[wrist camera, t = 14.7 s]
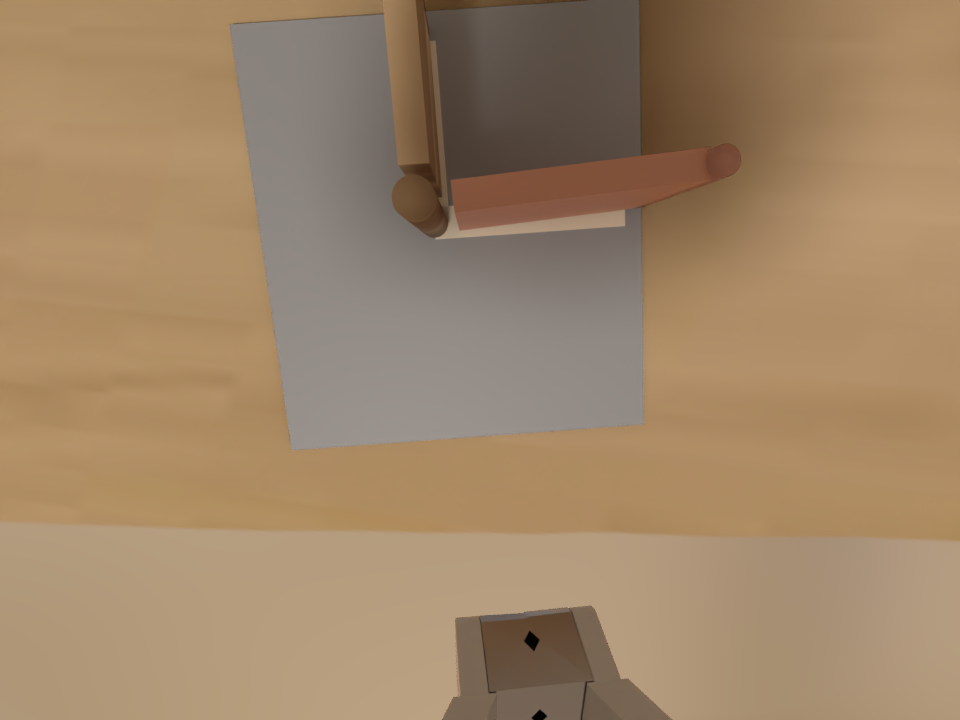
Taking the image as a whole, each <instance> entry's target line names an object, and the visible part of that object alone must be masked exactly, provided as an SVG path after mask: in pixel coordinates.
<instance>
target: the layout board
mask: <svg viewBox="0 0 960 720" xmlns="http://www.w3.org/2000/svg"><path fill="white" fill-rule="evenodd" d="M426 15H427V21H428V27H429V40H430V48H431V60H432V73H433V85H434V98H435V110H436V123H437V135H438V148H439V160H440V173H441V185H442V197H439V198H438V199H439V201H440V204H441V206H442V208H443V210H444V213H445V215H446V217H447V220H448V227H447V230H446V232H445V233H444V234H443V235H442V236H440V237H436V238H432V237H429V236H427V235H426V234H424V233H423V232H422V231H420V230H419V229H418V228H416V227H415V226H414V225H412V224H411V223H410V222H409V221H407V220H406V219H405V218H403V217H402V216H401V215H400V214H399V213H398V212H397V211H396V210H395V208H394V206H393V203H392V191H393V188H394V186H395V184H396V183H397V182H398V180H400V179H401V178H402V177H404V176H405V174H404V173H403V171H402V170H401V169H400V167H399V166H398V159H397V149H396V138H395V128H394V117H393V106H392V96H391V85H390V75H389V64H388V54H387V43H386V33H385V22H384V14H378V15H364V16H349V17H334V18H319V19H304V20H289V21H275V22H260V23H245V24H230V30H231V37H232V44H233V51H234V58H235V65H236V72H237V78H238V85H239V92H240V99H241V106H242V113H243V120H244V126H245V133H246V140H247V147H248V154H249V161H250V168H251V174H252V181H253V188H254V195H255V202H256V209H257V216H258V222H259V229H260V236H261V243H262V250H263V257H264V263H265V270H266V277H267V284H268V291H269V298H270V305H271V311H272V318H273V325H274V332H275V339H276V346H277V353H278V359H279V366H280V373H281V380H282V387H283V394H284V401H285V407H286V414H287V421H288V428H289V435H290V442H291V449H292V450H303V449H316V448H330V447H343V446H357V445H371V444H384V443H398V442H411V441H425V440H439V439H452V438H466V437H479V436H493V435H507V434H520V433H534V432H547V431H561V430H575V429H588V428H602V427H615V426H629V425H642V424H644V392H643V298H642V207H641V208H633V209H626V210H618V211H610V212H602V213H595V214H587V215H579V216H571V217H563V218H555V219H548V220H540V221H532V222H524V223H516V224H508V225H501V226H493V227H485V228H477V229H469V230H462V231H460V230H459V227H458V223H457V219H456V216H455V211H454V204H453V196H452V188H451V180H455V179H463V178H471V177H479V176H487V175H494V174H502V173H510V172H518V171H526V170H533V169H541V168H549V167H557V166H565V165H572V164H580V163H588V162H596V161H604V160H611V159H619V158H627V157H635V156H641V110H640V16H639V0H586V1H571V2H556V3H542V4H527V5H512V6H497V7H482V8H467V9H453V10H438V11H426Z"/></svg>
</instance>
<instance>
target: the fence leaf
mask: <svg viewBox="0 0 960 720" xmlns="http://www.w3.org/2000/svg"><path fill="white" fill-rule="evenodd" d="M740 163H741V155H740V152H739V150H738V149H737V148H736V147H735V146H733V145H731V144H722V145H719V146H717V147H715V148H713V149H711V147H705V148H697V149H689V150H682V151H674V152H666V153H658V154H650V155H643V156H635V157H627V158H619V159H611V160H604V161H596V162H588V163H580V164H572V165H565V166H557V167H549V168H541V169H533V170H526V171H518V172H510V173H502V174H494V175H487V176H479V177H471V178H463V179H455V180H451V188H452V196H453V204H454V211H455V216H456V219H457V223H458V227H459V230H460V231H462V230H469V229H477V228H485V227H493V226H501V225H508V224H516V223H524V222H532V221H540V220H548V219H555V218H563V217H571V216H579V215H587V214H595V213H602V212H610V211H618V210H626V209H633V208H641V207H644V206H647V205H649V204H652V203H655V202H658V201H661V200H664V199H666V198H669V197H672V196H675V195H678V194H680V193H683V192H686V191H689V190H692V189H695V188H697V187H700V186H703V185H706V184H709V183H711V182H714V181H717V180H720V179H723V178H725V177H728V176H731V175H733V174H734V173H735V172H736V171H737V170H738V168H739V166H740Z"/></svg>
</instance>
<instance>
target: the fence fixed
mask: <svg viewBox="0 0 960 720" xmlns="http://www.w3.org/2000/svg"><path fill="white" fill-rule="evenodd" d="M382 1H383V11H384V22H385V33H386V43H387V54H388V64H389V75H390V85H391V96H392V106H393V117H394V128H395V138H396V149H397V159H398V166H399V167H400V169H401V170H402V171H403V173H404V174H405V176H404V177H402V178H401V179H400V180H398V182H397V183H396V184H395V186H394V188H393V191H392V203H393V206H394V208H395V210H396V211H397V212H398V213H399V214H400V215H401V216H402V217H403V218H405V219H406V220H407V221H409V222H410V223H411V224H412V225H414V226H415V227H416V228H418V229H419V230H420V231H422V232H423V233H424V234H426V235H427V236H429V237H432V238H436V237H440V236H442V235H443V234H444V233H445V232H446V230H447V227H448V220H447V217H446V215H445V213H444V210H443V208H442V206H441V204H440V201H439V199H438V198H439V197H442V185H441V173H440V160H439V148H438V135H437V123H436V110H435V98H434V85H433V73H432V60H431V48H430V40H429V27H428V21H427V15H426V9H425V4H424V0H382Z"/></svg>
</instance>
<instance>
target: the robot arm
mask: <svg viewBox="0 0 960 720" xmlns="http://www.w3.org/2000/svg"><path fill="white" fill-rule="evenodd" d="M455 627H456V663H457V687H458V697H453V699H452V701H451V703H450V705H449V707H448V709H447V711H446V713H445V715H444V717H443V719H442V720H672V719H671V718H670V717H669V716H668V715H667V714H666V713H664V712H663V711H662V710H661V709H660V708H659V707H658V706H657V705H656V704H655V703H654V702H653V701H651V700H650V699H649V698H648V697H647V696H646V695H645V694H644V693H643V692H642V691H641V690H640V689H639V688H638V687H636V686H635V685H634V684H633V683H632V682H631V681H630V680H629V679H621V678H620V675H619V673H618V670H617V667H616V664H615V662H614V659H613V656H612V654H611V651H610V648H609V646H608V643H607V641H606V638H605V635H604V632H603V630H602V627H601V624H600V621H599V619H598V616H597V613H596V611H595V609H594V608H593V607H592V606H583V607H573V608H557V609H548V610H538V611H529V612H524V613H518V614H504V615H503V614H502V615H486V616H472V617H462V618H456V620H455Z"/></svg>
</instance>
